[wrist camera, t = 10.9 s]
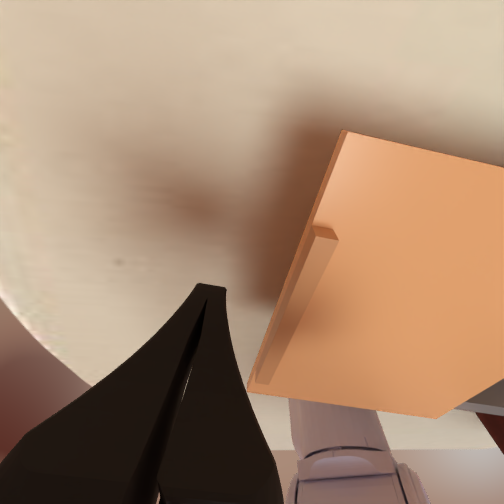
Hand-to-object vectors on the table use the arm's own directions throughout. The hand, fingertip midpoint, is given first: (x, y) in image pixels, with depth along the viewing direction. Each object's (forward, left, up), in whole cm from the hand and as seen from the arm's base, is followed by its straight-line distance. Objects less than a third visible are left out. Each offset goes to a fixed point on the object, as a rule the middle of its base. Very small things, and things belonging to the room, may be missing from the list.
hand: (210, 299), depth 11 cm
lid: (0, -10, 0) cm, 10 cm away
